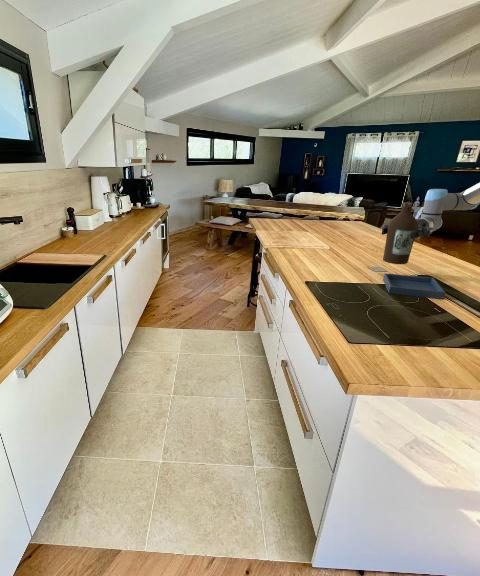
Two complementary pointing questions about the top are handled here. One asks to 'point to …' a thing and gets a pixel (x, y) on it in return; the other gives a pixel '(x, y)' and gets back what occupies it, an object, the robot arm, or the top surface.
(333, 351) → the top surface
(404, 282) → the tray
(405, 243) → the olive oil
